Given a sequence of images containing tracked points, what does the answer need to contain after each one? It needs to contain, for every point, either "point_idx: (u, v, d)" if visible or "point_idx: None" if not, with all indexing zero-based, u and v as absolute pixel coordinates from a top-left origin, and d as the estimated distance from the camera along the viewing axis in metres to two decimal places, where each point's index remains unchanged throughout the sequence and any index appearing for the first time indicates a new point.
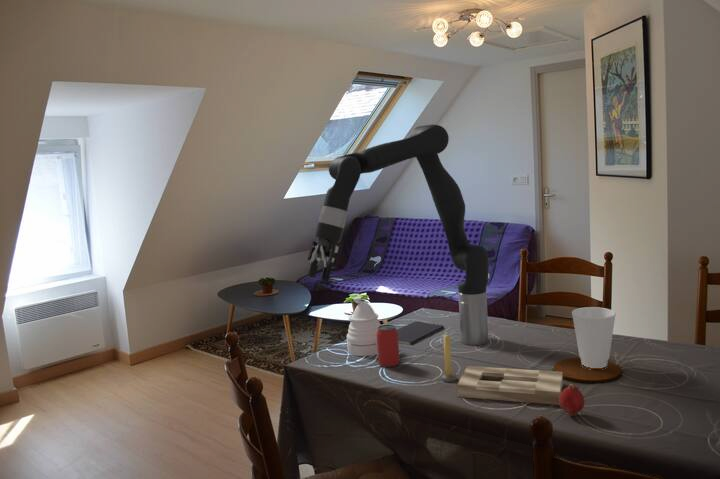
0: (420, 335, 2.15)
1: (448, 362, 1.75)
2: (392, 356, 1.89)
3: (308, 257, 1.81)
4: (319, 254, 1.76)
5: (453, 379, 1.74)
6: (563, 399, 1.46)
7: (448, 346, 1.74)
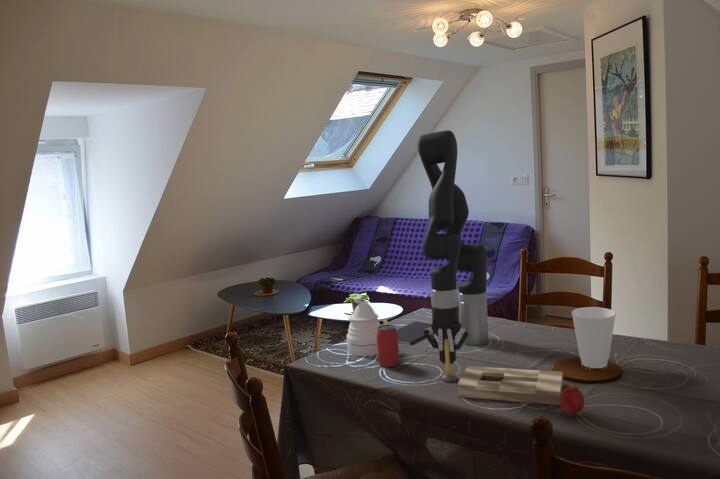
0: (420, 335, 2.15)
1: (448, 362, 1.75)
2: (392, 356, 1.89)
3: (433, 346, 1.75)
4: (447, 334, 1.73)
5: (453, 379, 1.74)
6: (563, 399, 1.46)
7: (448, 346, 1.74)
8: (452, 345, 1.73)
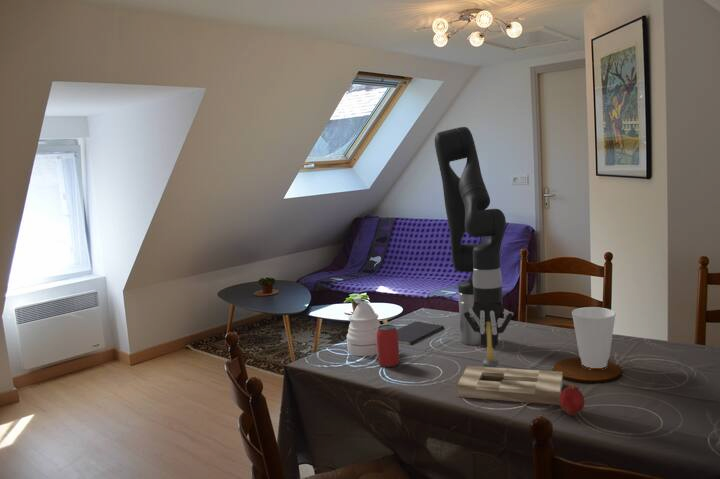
0: (420, 335, 2.15)
1: (490, 346, 1.65)
2: (392, 356, 1.89)
3: (475, 329, 1.65)
4: (489, 316, 1.63)
5: (496, 364, 1.65)
6: (563, 399, 1.46)
7: (490, 329, 1.64)
8: (495, 328, 1.63)
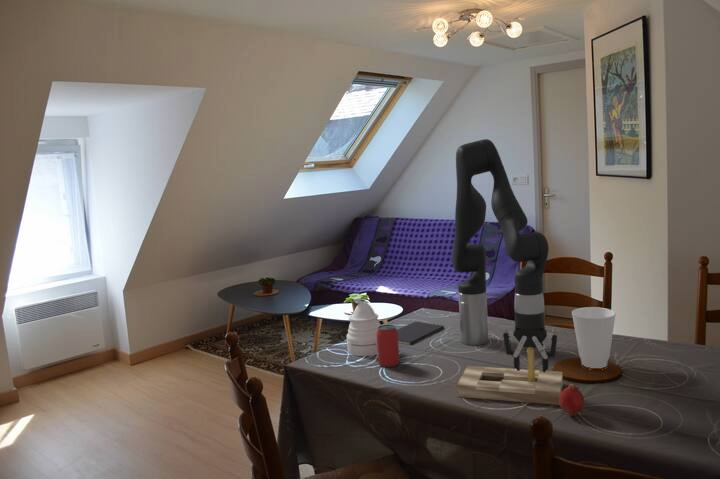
0: (420, 335, 2.15)
1: (532, 373, 1.62)
2: (392, 356, 1.89)
3: (508, 352, 1.63)
4: (529, 344, 1.61)
5: None
6: (563, 399, 1.46)
7: (532, 356, 1.61)
8: (544, 352, 1.60)
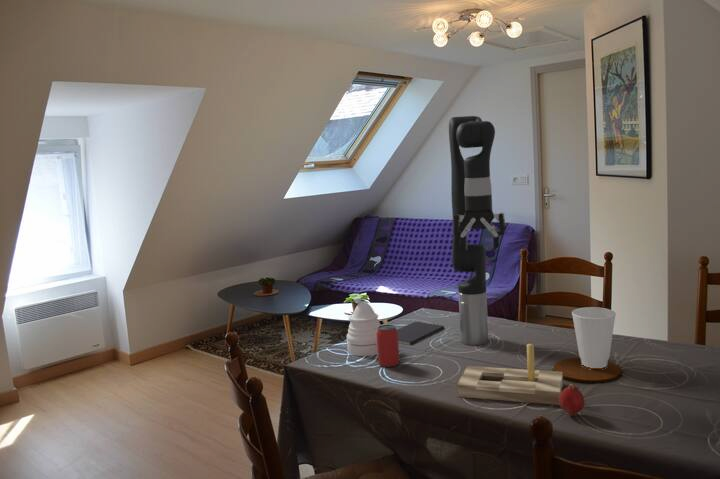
0: (420, 335, 2.15)
1: (532, 373, 1.62)
2: (392, 356, 1.89)
3: (456, 232, 1.76)
4: (477, 226, 1.74)
5: None
6: (563, 399, 1.46)
7: (532, 356, 1.61)
8: (493, 231, 1.73)
